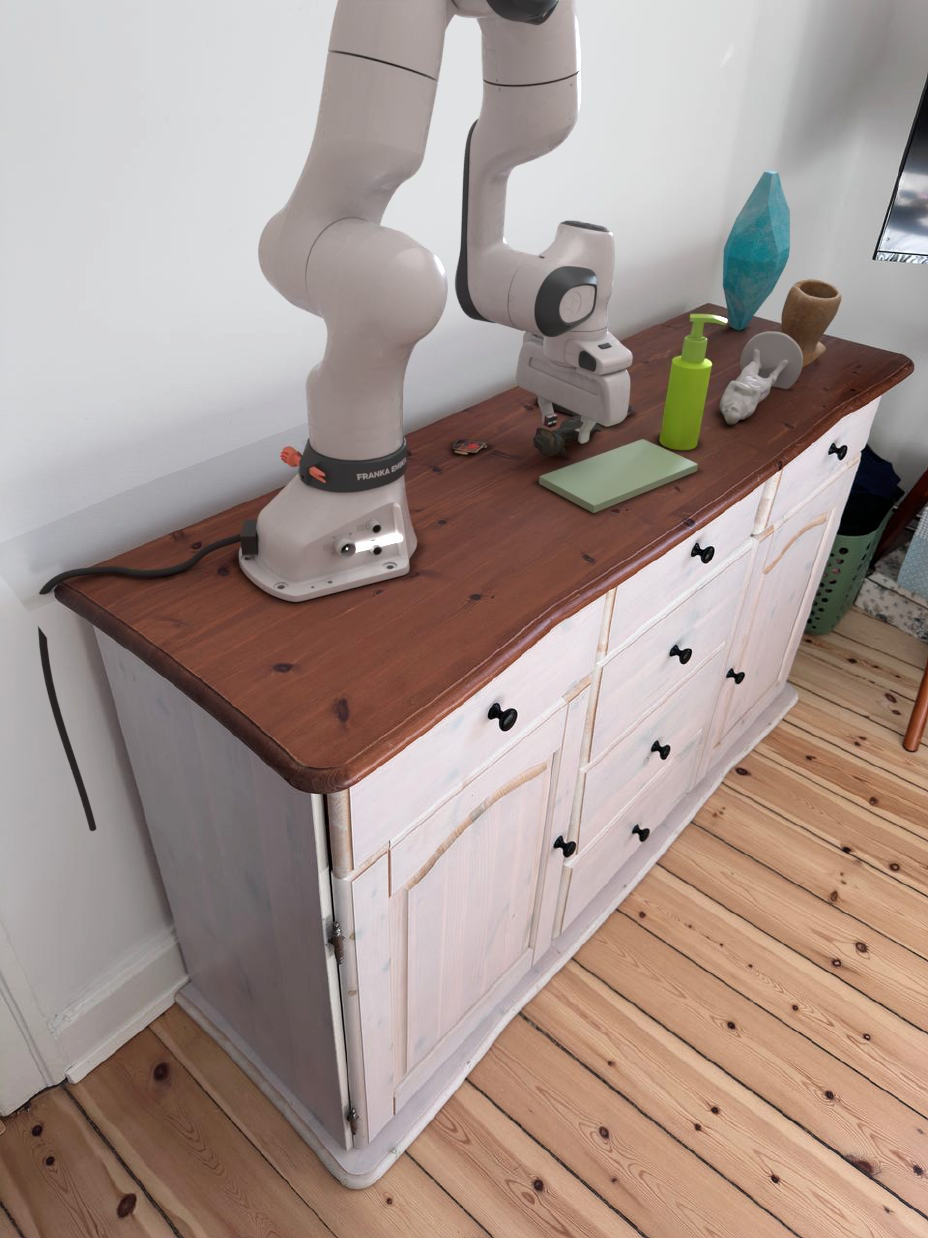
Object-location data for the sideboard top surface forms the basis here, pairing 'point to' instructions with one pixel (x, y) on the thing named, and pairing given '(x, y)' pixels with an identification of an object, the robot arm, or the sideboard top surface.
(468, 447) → the matchbox
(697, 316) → the soap dispenser
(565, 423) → the statue
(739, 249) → the crystal
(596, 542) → the sideboard top surface
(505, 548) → the sideboard top surface
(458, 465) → the sideboard top surface
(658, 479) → the board
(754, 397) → the male figure
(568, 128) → the robot arm
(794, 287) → the stone cup
